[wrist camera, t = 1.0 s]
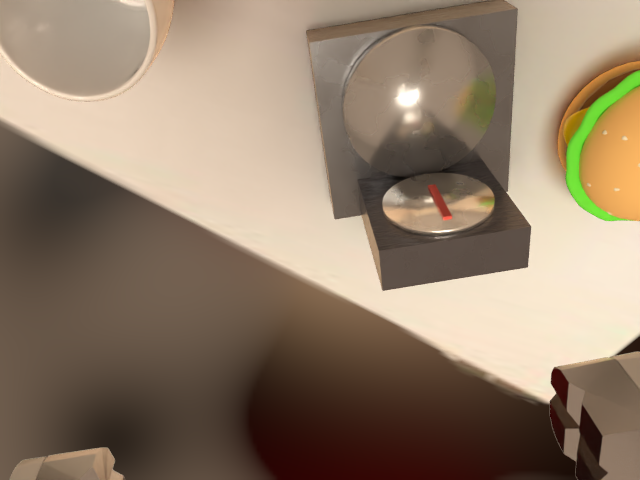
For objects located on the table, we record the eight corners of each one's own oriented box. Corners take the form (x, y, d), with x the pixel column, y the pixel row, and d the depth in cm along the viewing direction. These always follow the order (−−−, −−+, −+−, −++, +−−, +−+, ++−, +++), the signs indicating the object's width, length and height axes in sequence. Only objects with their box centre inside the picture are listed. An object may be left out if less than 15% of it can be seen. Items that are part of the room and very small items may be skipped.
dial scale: (306, 30, 38) (322, 91, 28) (500, -2, 38) (586, 48, 28) (330, 199, 45) (350, 295, 35) (494, 173, 45) (560, 262, 35)
